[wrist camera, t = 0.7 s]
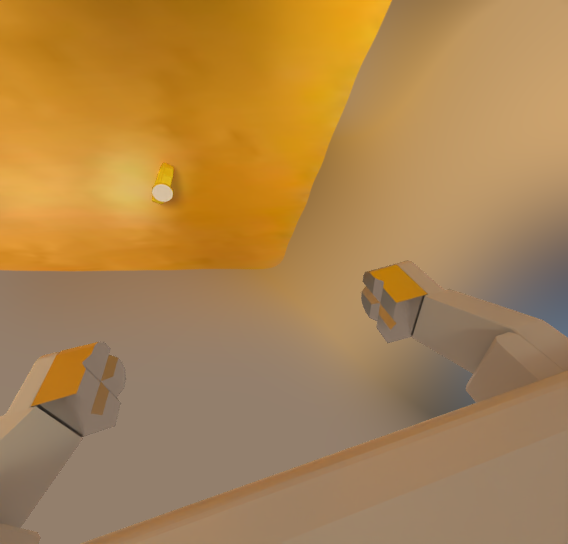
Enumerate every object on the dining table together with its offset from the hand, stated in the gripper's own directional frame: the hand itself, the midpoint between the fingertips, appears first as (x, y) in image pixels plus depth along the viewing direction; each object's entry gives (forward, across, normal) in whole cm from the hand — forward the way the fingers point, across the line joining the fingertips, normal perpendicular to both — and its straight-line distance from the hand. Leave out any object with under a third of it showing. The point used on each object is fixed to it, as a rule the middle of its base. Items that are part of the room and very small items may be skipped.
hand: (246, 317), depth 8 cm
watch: (+40, +9, +6) cm, 42 cm away
